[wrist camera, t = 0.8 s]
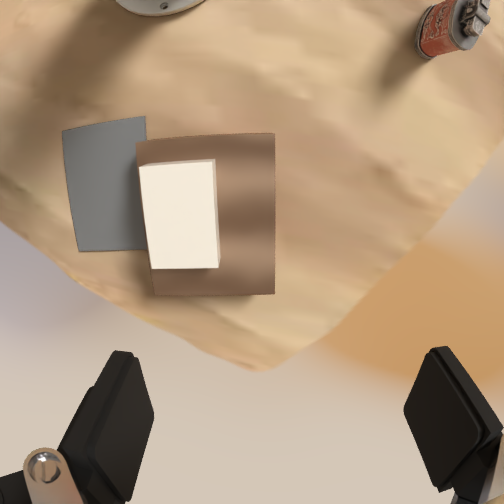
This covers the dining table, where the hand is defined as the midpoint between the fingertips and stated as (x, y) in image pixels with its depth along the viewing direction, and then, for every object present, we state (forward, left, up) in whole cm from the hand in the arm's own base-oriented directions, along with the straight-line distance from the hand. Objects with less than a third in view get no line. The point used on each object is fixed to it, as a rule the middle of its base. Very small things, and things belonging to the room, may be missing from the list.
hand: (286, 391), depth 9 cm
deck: (+1, -5, -24) cm, 24 cm away
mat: (-2, -16, -24) cm, 29 cm away
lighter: (-20, +19, -24) cm, 37 cm away
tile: (0, -7, -20) cm, 21 cm away
